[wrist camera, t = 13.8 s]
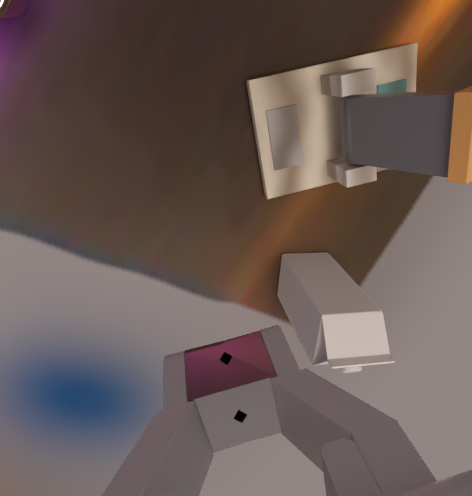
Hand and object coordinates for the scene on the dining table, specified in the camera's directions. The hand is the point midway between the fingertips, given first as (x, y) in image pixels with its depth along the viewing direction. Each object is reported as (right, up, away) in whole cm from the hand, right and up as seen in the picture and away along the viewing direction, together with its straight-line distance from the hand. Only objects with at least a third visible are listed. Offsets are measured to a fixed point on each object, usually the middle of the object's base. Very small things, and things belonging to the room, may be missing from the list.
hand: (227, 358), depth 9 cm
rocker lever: (+13, +16, +31) cm, 37 cm away
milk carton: (+10, -1, +45) cm, 46 cm away
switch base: (+12, +18, +35) cm, 42 cm away
